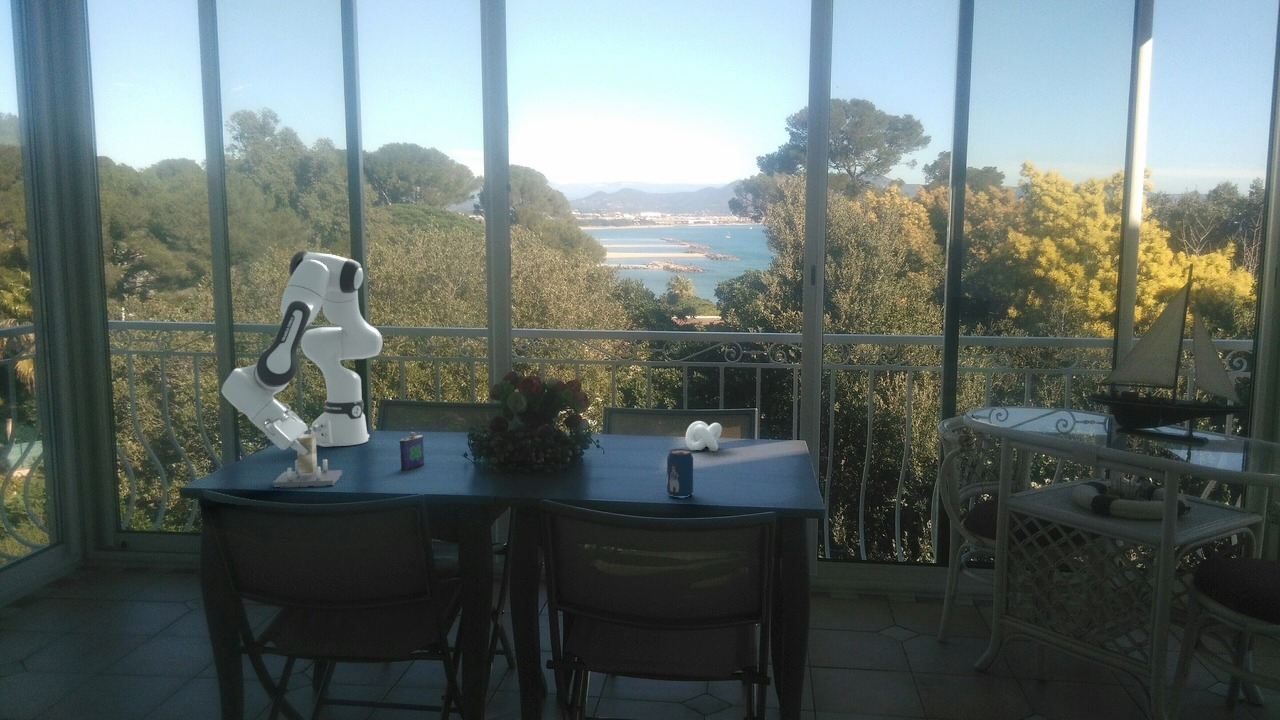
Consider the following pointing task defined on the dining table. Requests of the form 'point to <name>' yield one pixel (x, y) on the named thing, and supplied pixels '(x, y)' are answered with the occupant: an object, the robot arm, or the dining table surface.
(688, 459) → the soda can
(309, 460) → the birch block
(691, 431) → the white knot sculpture
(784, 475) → the dining table surface
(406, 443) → the flask
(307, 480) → the chassis plate
